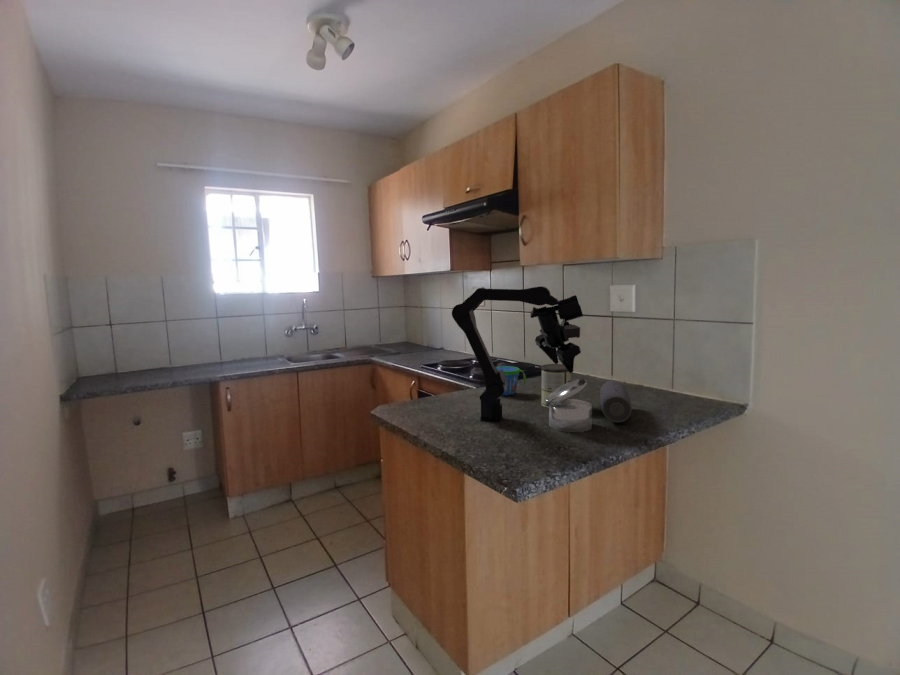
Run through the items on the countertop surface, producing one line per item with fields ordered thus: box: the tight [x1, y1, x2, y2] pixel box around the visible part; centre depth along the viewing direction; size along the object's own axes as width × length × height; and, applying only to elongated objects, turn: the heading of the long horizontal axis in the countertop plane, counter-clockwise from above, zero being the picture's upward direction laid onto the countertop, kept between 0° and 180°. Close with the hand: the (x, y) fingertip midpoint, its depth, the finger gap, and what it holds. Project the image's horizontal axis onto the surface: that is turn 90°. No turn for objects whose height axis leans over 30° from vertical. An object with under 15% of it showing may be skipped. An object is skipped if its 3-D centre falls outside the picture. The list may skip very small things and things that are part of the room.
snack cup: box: [495, 365, 527, 396], centre depth 175 cm, size 16×10×10 cm
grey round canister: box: [548, 398, 593, 433], centre depth 135 cm, size 13×13×7 cm
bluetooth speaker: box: [599, 380, 633, 423], centre depth 144 cm, size 23×9×10 cm, turn 163°
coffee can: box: [540, 363, 572, 409], centre depth 157 cm, size 10×10×14 cm
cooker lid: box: [545, 373, 588, 405], centre depth 134 cm, size 14×13×2 cm
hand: (563, 367), depth 141 cm, fingers open, 9 cm apart
